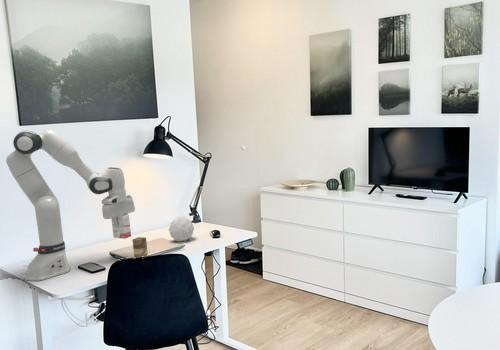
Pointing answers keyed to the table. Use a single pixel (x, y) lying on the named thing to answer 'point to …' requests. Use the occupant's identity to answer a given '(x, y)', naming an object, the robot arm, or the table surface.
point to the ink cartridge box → (122, 227)
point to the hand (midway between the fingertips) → (120, 223)
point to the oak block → (140, 252)
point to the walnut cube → (139, 243)
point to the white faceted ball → (181, 229)
